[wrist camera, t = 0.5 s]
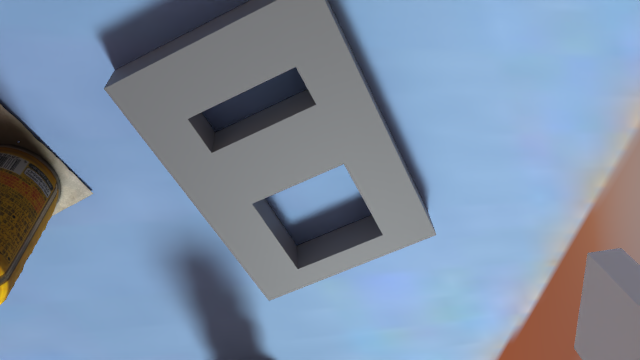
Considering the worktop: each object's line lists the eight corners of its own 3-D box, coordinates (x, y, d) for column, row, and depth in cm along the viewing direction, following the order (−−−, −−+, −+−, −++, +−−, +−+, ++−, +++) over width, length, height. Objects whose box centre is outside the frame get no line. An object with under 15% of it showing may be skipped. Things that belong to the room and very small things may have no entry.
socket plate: (312, -32, 31) (315, -20, 29) (428, 212, 41) (436, 234, 39) (114, 70, 33) (103, 88, 31) (269, 276, 43) (268, 300, 41)
